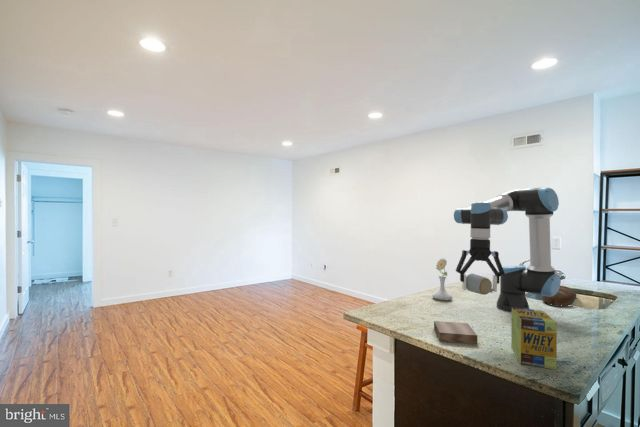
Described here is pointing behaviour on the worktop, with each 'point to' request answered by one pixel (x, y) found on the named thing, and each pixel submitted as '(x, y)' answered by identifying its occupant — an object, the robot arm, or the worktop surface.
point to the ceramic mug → (478, 284)
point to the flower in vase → (442, 283)
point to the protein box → (534, 337)
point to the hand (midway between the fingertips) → (479, 290)
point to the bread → (561, 297)
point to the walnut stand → (455, 332)
